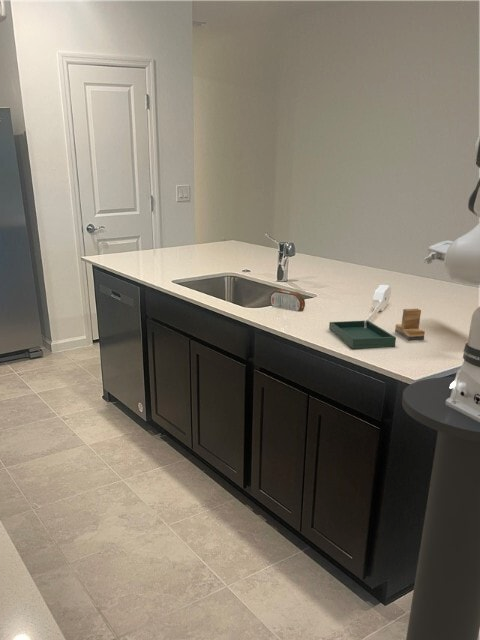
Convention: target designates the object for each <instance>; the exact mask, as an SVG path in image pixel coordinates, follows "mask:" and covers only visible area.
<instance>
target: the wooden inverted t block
mask: <svg viewBox="0 0 480 640" xmlns="http://www.w3.org/2000/svg"><path fill="white" fill-rule="evenodd" d="M421 315H422V310H421V309H420V308H403V309H402V316H401V317H402V318H401V323H399V324H395V329H394V332H395V333H396V334H397V335H399V336H401V337H402V338H404V339H405V340H406V341H408V342H413V341H424V340H425V333H426V331H424V330H423V329H422V328H420V322H421Z"/></svg>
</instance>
